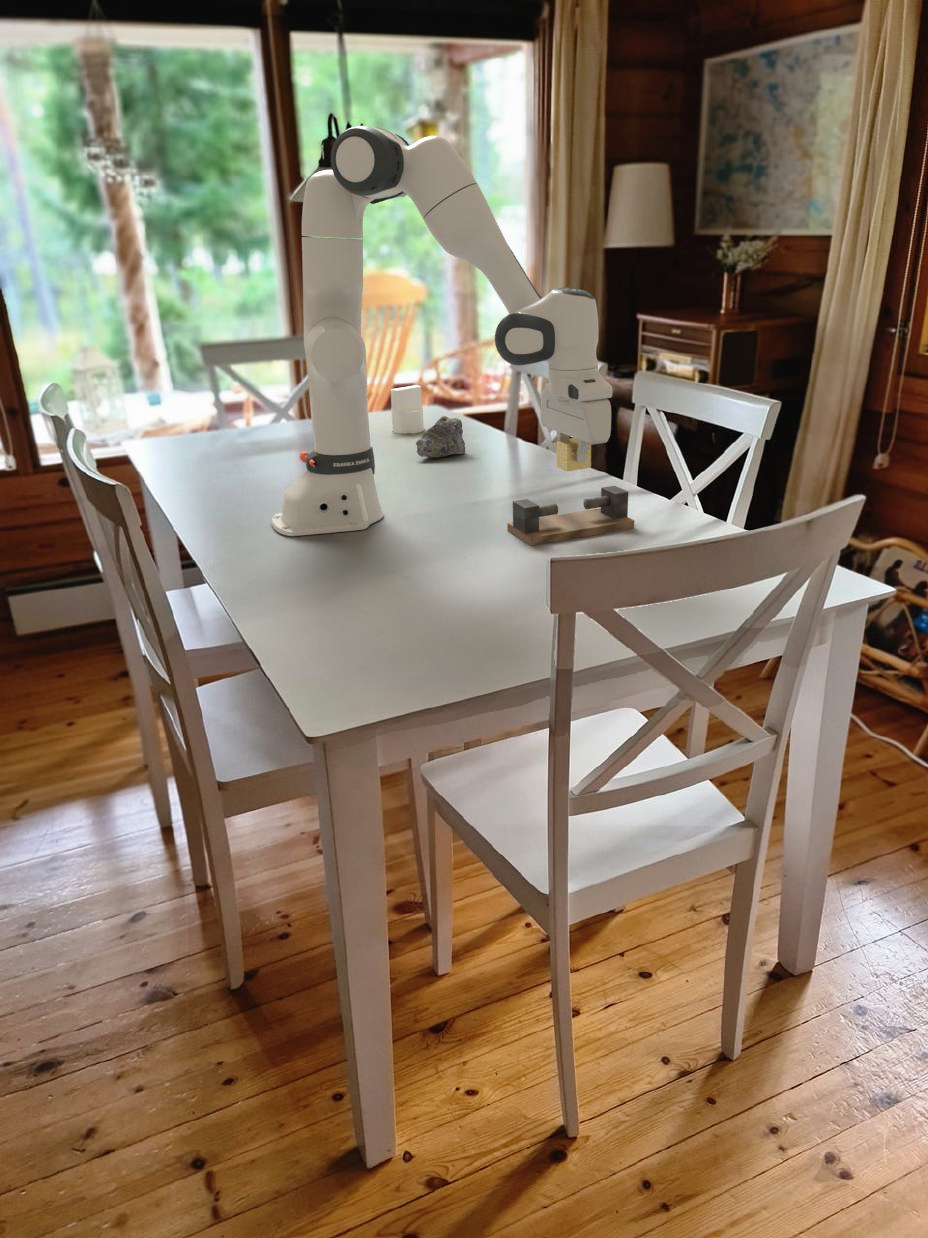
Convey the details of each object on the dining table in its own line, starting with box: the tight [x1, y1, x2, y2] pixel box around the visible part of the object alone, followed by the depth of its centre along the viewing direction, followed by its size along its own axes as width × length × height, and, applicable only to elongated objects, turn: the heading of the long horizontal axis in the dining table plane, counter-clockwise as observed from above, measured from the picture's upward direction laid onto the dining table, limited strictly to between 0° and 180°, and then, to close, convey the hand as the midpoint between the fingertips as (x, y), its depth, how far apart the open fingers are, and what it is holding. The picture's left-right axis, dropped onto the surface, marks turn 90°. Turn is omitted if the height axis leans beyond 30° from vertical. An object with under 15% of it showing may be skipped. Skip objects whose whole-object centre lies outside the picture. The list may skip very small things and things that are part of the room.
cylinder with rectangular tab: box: [390, 384, 425, 434], centre depth 262 cm, size 9×9×12 cm
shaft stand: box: [507, 485, 635, 547], centre depth 176 cm, size 22×10×6 cm, turn 113°
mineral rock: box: [415, 415, 466, 459], centre depth 233 cm, size 13×11×10 cm
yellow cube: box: [556, 437, 592, 472], centre depth 171 cm, size 5×4×5 cm
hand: (573, 458), depth 172 cm, fingers closed on yellow cube, 4 cm apart
